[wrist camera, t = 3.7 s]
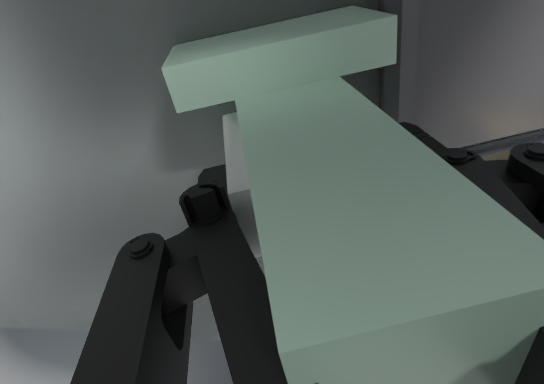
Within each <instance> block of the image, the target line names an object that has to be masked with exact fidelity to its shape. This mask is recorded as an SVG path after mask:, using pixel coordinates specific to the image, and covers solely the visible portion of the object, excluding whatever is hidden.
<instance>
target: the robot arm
mask: <svg viewBox="0 0 544 384" xmlns="http://www.w3.org/2000/svg"><path fill="white" fill-rule="evenodd" d="M222 118H223V132H224V147H225V162H226V164H224V165H220V166H215V167H211V168H207V169H204V170H203V171H202V173H201V174H200V175H199V177H198V184H197V185H194V186H192V187H190V188H189V189H187V190H186V191H185V192H183V194H182V195H181V196H180V199H179V203H180V206H181V208H182V211H183V213H184V215H185V218H186V220H187V223H188V225H189V227H188V228H187V229H186V230H184V231H183V232H181V233H180V234H178V235H176V236H174V237H172V238H169V239H167V240H164V238H163V237H162V236H161V235H159V234H155V233H149V234H143V235H140V236H137V237H135V238H134V239H132V240H130V241H129V242H127V243H126V244H125V245H124V246H123V247H122V248H121V250H120V251H119V253H118V255H117V257H116V260H115V263H114V266H113V268H112V271H111V274H110V277H109V279H108V282H107V285H106V288H105V290H104V293H103V296H102V298H101V301H100V304H99V307H98V309H97V312H96V315H95V318H94V320H93V323H92V326H91V329H90V331H89V334H88V337H87V340H86V342H85V345H84V348H83V350H82V353H81V356H80V359H79V362H78V364H77V367H76V370H75V372H74V375H73V378H72V381H71V383H70V384H187V373H188V360H189V347H190V337H191V324H192V312H193V301H194V300H196V299H197V298H199V297H201V296H203V295H205V294H207V293H208V296H209V299H210V303H211V306H212V310H213V313H214V317H215V321H216V324H217V328H218V331H219V335H220V338H221V342H222V345H223V349H224V352H225V356H226V359H227V363H228V366H229V370H230V374H231V377H232V380H233V384H288V382H287V379H286V376H285V373H284V369H283V366H282V363H281V360H280V356H279V353H278V347H277V341H276V335H275V330H274V324H273V318H272V312H271V306H270V301H269V295H268V289H267V283H266V278H265V276H264V274H263V272H262V270H261V268H260V266H259V264H258V262H257V260H256V258H261V257H262V255H261V249H260V243H259V237H258V231H257V226H256V220H255V214H254V208H253V203H252V197H251V191H250V185H249V180H248V174H247V168H246V162H245V156H244V151H243V145H242V139H241V133H240V128H239V122H238V116H237V112H234V113H230V114H225V115H222ZM398 124H400V125H401V126H402V127H403V128H405V129H406V130H407V131H408V132H410V133H411V134H412V135H413V136H415V137H416V138H417V139H418V140H420V141H421V142H422V143H423V144H425V145H426V146H427V147H428V148H430V149H431V150H432V151H433V152H435V153H436V154H437V155H438V156H440V157H441V158H442V159H443V160H445V161H446V162H447V163H448V164H450V165H451V166H452V167H453V168H455V169H456V170H457V171H458V172H460V173H461V174H462V175H463V176H465V177H466V178H467V179H468V180H470V181H471V182H472V183H473V184H475V185H476V186H477V187H478V188H480V189H481V190H482V191H483V192H485V193H486V194H487V195H488V196H490V197H491V198H492V199H493V200H495V201H496V202H497V203H498V204H500V205H501V206H502V207H503V208H505V209H506V210H507V211H508V212H510V213H511V214H512V215H513V216H515V217H516V218H517V219H518V220H520V221H521V222H522V223H523V224H525V225H526V226H527V227H528V228H530V229H531V230H532V231H533V232H535V233H536V234H537V235H538V236H540V237H541V238H542V239H543V240H544V144H543V143H538V142H536V143H534V142H530V143H524V144H519V145H517V146H514V147H513V148H512V149H511V150H510V154H509V158H508V160H488V161H484V160H483V159H482V158H481V156H480V155H478V154H477V153H475V152H473V151H470V150H467V149H461V148H447V147H445V146H444V145H442V144H441V143H440V142H438V141H437V140H436V139H434V138H433V137H430V135H429V134H428V133H426V132H424V130H422V129H421V128H420V127H418V126H417V125H414V124H411V123H408V122H400V123H398ZM315 384H318V383H315ZM515 384H544V326H543V327H540V328H539V330H538V333H537V335H536V337H535V339H534V342H533V344H532V346H531V348H530V351H529V353H528V355H527V357H526V359H525V362H524V364H523V366H522V368H521V371H520V373H519V375H518V377H517V380H516V382H515Z"/></svg>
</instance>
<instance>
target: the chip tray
mask: <svg viewBox="0 0 544 384" xmlns="http://www.w3.org/2000/svg"><path fill="white" fill-rule="evenodd" d="M379 11H381V12H385V13H390V14H394V15H397V54H396V64H392V65H388V66H383V67H379V108H380V109H381V110H382V111H383V112H385V113H386V114H387V115H388V116H390V117H391V118H392V119H393V120H395V121H396V122H397V123H400V122H408V123H411V124H414V125H417V126H418V127H420V128H421V129H422V130H424V132H426V133H428V134H429V135H430V137H433V138H434V139H436V140H437V141H438V142H440V143H441V144H442V145H444V146H445V147H447V148H461V147H465V146H469V145H474V144H478V143H482V142H486V141H491V140H495V139H499V138H503V137H508V136H512V135H516V134H520V133H525V132H529V131H533V130H537V129H542V128H544V0H379Z"/></svg>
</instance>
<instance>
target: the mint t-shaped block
mask: <svg viewBox="0 0 544 384" xmlns="http://www.w3.org/2000/svg"><path fill="white" fill-rule="evenodd" d="M396 54H397V15H394V14H390V13H385V12H381V11H376V10H371V9H367V8H362V7H357V6H353V5H352V6H347V7H343V8H338V9H334V10H330V11H325V12H321V13H316V14H312V15H307V16H303V17H298V18H294V19H289V20H285V21H280V22H276V23H271V24H267V25H262V26H258V27H253V28H249V29H245V30H240V31H236V32H231V33H227V34H222V35H218V36H213V37H209V38H204V39H200V40H195V41H191V42H186V43H182V44H177V45H174V46H173V48H172V49H171V51H170V53H169V55H168V57H167V58H166V60H165V62H164V64H163V65H162V67H161V70H162V73H163V76H164V79H165V81H166V84H167V87H168V90H169V93H170V96H171V98H172V101H173V104H174V107H175V110H176V112H177V113H182V112H186V111H191V110H195V109H199V108H204V107H208V106H212V105H217V104H221V103H226V102H230V101H234V100H235V104H236V110H237V116H238V122H239V128H240V133H241V139H242V145H243V151H244V156H245V162H246V168H247V174H248V180H249V185H250V191H251V197H252V203H253V208H254V214H255V220H256V226H257V231H258V237H259V243H260V249H261V255H262V260H263V266H264V272H265V278H266V283H267V289H268V295H269V301H270V306H271V312H272V318H273V324H274V330H275V335H276V341H277V347H278V353H279V356H280V360H281V363H282V366H283V369H284V373H285V376H286V379H287V382H288V384H315V383H318V384H515V382H516V380H517V377H518V375H519V373H520V371H521V368H522V366H523V364H524V362H525V359H526V357H527V355H528V353H529V351H530V348H531V346H532V344H533V342H534V339H535V337H536V335H537V333H538V330H539V328H540V327H543V326H544V240H543V239H542V238H541V237H540V236H538V235H537V234H536V233H535V232H533V231H532V230H531V229H530V228H528V227H527V226H526V225H525V224H523V223H522V222H521V221H520V220H518V219H517V218H516V217H515V216H513V215H512V214H511V213H510V212H508V211H507V210H506V209H505V208H503V207H502V206H501V205H500V204H498V203H497V202H496V201H495V200H493V199H492V198H491V197H490V196H488V195H487V194H486V193H485V192H483V191H482V190H481V189H480V188H478V187H477V186H476V185H475V184H473V183H472V182H471V181H470V180H468V179H467V178H466V177H465V176H463V175H462V174H461V173H460V172H458V171H457V170H456V169H455V168H453V167H452V166H451V165H450V164H448V163H447V162H446V161H445V160H443V159H442V158H441V157H440V156H438V155H437V154H436V153H435V152H433V151H432V150H431V149H430V148H428V147H427V146H426V145H425V144H423V143H422V142H421V141H420V140H418V139H417V138H416V137H415V136H413V135H412V134H411V133H410V132H408V131H407V130H406V129H405V128H403V127H402V126H401V125H400V124H398V123H397V122H396V121H395V120H393V119H392V118H391V117H390V116H388V115H387V114H386V113H385V112H383V111H382V110H381V109H380V108H378V107H377V106H376V105H375V104H373V103H372V102H371V101H370V100H368V99H367V98H366V97H365V96H363V95H362V94H361V93H360V92H358V91H357V90H356V89H355V88H353V87H352V86H351V85H350V84H348V83H347V82H346V81H345V80H343V79H342V78H341V77H340V76H344V75H348V74H353V73H357V72H361V71H366V70H370V69H375V68H379V67H383V66H388V65H392V64H396Z"/></svg>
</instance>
